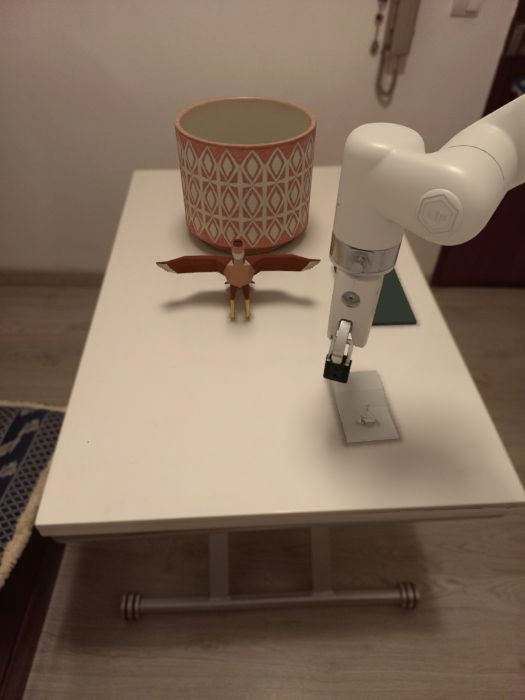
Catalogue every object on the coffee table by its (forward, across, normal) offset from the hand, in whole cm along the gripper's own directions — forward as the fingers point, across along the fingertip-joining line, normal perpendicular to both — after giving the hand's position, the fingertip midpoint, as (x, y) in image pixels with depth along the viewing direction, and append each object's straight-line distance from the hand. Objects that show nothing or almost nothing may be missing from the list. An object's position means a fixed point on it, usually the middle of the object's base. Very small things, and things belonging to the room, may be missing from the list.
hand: (342, 354), depth 63 cm
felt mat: (+10, +28, -1) cm, 30 cm away
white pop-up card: (+10, 0, -4) cm, 11 cm away
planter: (+10, +43, +30) cm, 53 cm away
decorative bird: (+10, +17, +22) cm, 29 cm away
